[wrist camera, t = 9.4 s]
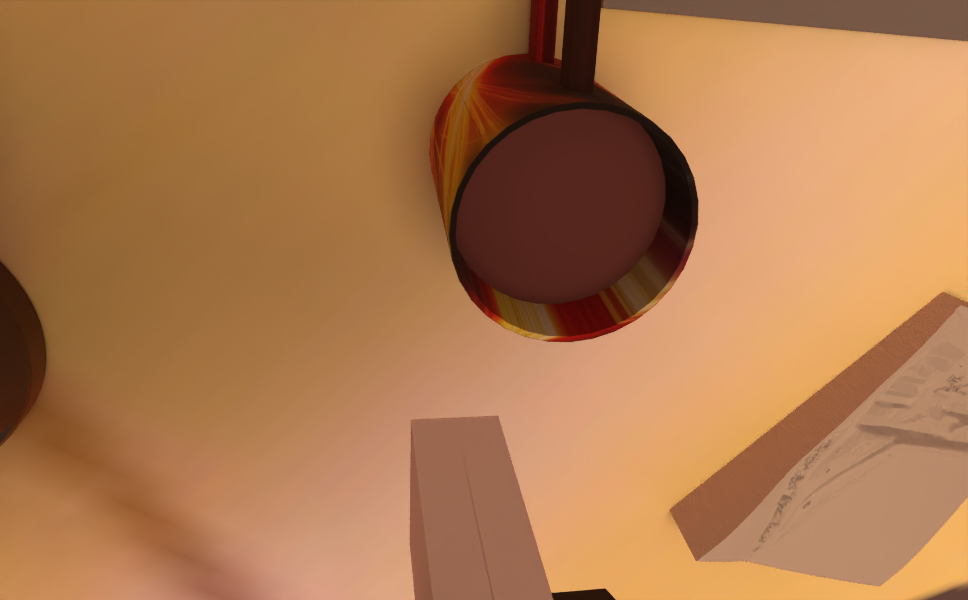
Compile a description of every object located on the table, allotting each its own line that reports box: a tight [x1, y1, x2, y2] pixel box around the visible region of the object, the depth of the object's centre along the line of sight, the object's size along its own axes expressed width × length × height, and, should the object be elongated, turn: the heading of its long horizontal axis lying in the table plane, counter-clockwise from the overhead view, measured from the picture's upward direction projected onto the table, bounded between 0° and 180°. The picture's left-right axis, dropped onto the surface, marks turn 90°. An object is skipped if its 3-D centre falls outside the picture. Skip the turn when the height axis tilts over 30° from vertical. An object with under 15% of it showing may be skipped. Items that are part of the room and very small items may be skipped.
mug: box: [429, 0, 698, 342], centre depth 34 cm, size 10×14×12 cm
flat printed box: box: [670, 292, 968, 586], centre depth 49 cm, size 28×16×5 cm, turn 115°
